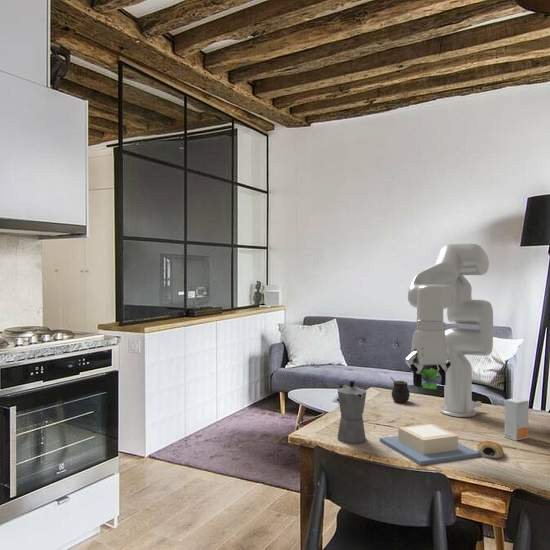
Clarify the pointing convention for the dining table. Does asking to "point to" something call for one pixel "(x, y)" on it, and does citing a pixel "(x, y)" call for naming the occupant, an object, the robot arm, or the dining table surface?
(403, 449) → the board
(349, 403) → the coffeepot
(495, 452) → the pastry
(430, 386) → the geometric puzzle
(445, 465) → the dining table surface
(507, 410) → the skincare box
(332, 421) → the dining table surface
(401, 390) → the mate gourd
